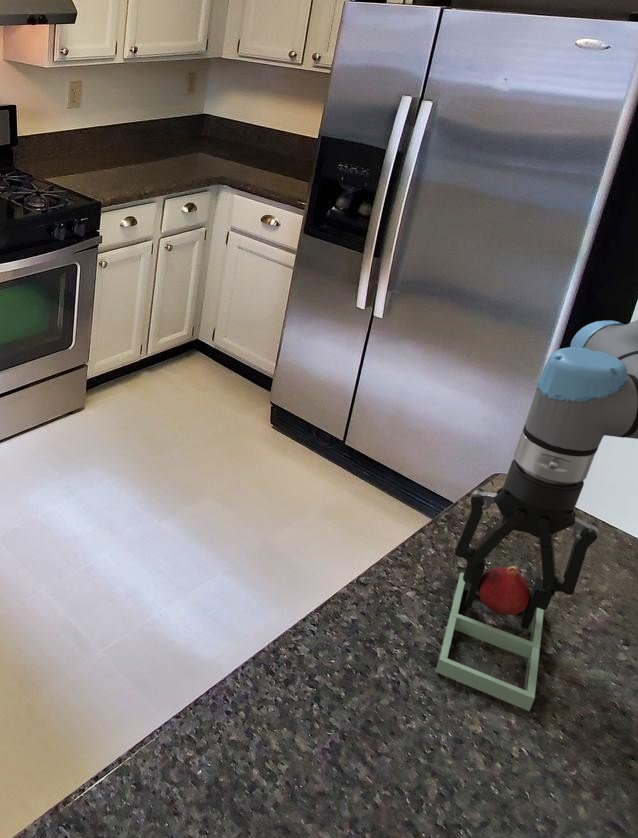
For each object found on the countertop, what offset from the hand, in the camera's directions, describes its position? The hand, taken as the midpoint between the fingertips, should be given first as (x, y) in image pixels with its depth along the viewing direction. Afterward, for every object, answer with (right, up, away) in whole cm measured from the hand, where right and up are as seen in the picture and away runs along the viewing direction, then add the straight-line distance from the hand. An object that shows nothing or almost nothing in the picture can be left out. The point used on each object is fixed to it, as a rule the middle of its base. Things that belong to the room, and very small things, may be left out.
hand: (496, 611), depth 108 cm
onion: (0, 0, 0) cm, 0 cm away
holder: (-3, -4, -2) cm, 5 cm away
